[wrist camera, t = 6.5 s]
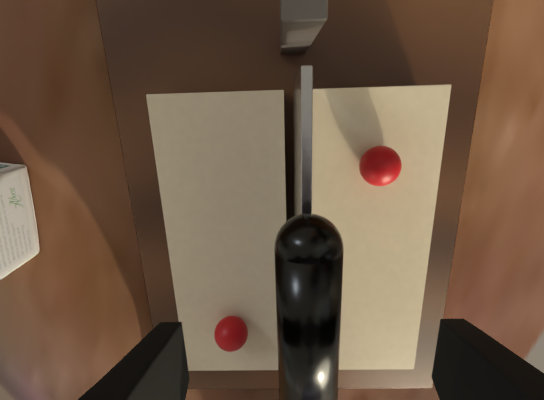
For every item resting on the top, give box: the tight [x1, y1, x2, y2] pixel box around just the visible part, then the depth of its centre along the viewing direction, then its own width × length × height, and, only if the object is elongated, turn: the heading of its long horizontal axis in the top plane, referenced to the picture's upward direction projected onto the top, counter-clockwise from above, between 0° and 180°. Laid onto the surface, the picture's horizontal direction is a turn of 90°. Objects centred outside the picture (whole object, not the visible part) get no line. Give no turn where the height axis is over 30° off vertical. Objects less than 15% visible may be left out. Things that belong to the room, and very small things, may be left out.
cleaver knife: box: [274, 65, 344, 400], centre depth 12 cm, size 15×2×6 cm, turn 2°
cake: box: [146, 84, 451, 371], centre depth 16 cm, size 14×12×5 cm
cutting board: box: [96, 0, 493, 389], centre depth 15 cm, size 24×18×8 cm
